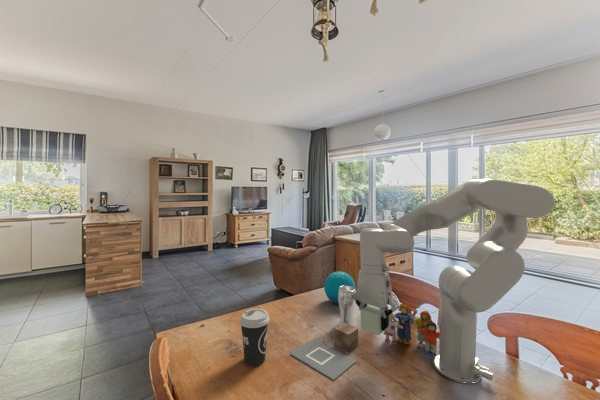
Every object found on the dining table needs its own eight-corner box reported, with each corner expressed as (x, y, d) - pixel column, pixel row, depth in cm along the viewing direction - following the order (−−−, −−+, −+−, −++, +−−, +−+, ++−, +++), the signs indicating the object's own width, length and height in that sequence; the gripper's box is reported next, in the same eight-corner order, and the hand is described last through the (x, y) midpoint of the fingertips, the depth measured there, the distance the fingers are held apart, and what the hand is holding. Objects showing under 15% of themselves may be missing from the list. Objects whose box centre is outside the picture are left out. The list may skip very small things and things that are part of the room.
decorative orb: (342, 294, 144) (342, 266, 143) (361, 305, 131) (362, 274, 130) (318, 300, 136) (318, 270, 136) (336, 312, 123) (337, 279, 123)
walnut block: (358, 344, 98) (358, 328, 97) (348, 351, 93) (348, 334, 93) (344, 338, 102) (344, 322, 101) (334, 344, 97) (334, 328, 97)
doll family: (377, 341, 100) (378, 305, 99) (383, 329, 108) (384, 296, 108) (443, 359, 89) (444, 319, 89) (444, 345, 97) (445, 308, 97)
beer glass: (356, 329, 108) (357, 291, 108) (339, 329, 108) (339, 291, 108) (353, 320, 115) (354, 285, 114) (337, 320, 115) (337, 285, 115)
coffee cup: (256, 347, 95) (256, 305, 95) (275, 358, 89) (276, 313, 88) (233, 361, 88) (233, 315, 87) (253, 374, 82) (253, 324, 81)
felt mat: (356, 362, 88) (356, 360, 88) (333, 380, 79) (333, 379, 79) (313, 340, 100) (313, 338, 100) (290, 354, 91) (290, 353, 91)
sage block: (388, 327, 86) (387, 308, 86) (378, 335, 81) (378, 315, 81) (370, 321, 90) (370, 303, 90) (361, 328, 86) (360, 309, 85)
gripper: (405, 270, 82) (406, 329, 82) (355, 261, 94) (357, 313, 94) (394, 276, 76) (395, 340, 77) (342, 266, 88) (344, 321, 89)
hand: (374, 324), depth 86 cm, fingers closed on sage block, 6 cm apart
